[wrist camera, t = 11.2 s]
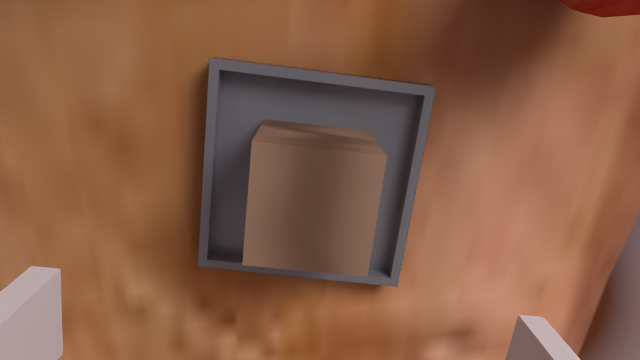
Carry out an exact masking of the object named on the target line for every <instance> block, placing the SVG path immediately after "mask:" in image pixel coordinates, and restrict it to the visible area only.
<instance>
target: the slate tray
mask: <svg viewBox="0 0 640 360" xmlns="http://www.w3.org/2000/svg"><path fill="white" fill-rule="evenodd" d="M435 91H436V87H434V86H431V85H428V84H420V83H412V82H404V81H397V80H389V79H381V78H373V77H365V76H358V75H350V74H342V73H334V72H327V71H319V70H311V69H303V68H295V67H288V66H280V65H272V64H264V63H256V62H249V61H241V60H233V59H225V58H218V57H213V58H210V60H209V77H208V95H207V112H206V130H205V148H204V165H203V183H202V200H201V218H200V235H199V253H198V267H205V268H215V269H225V270H235V271H245V272H255V273H265V274H275V275H285V276H295V277H305V278H315V279H325V280H335V281H345V282H355V283H365V284H375V285H385V286H395V287H397V286H398V280H399V275H400V270H401V265H402V260H403V255H404V250H405V245H406V239H407V234H408V229H409V224H410V219H411V214H412V209H413V203H414V198H415V193H416V188H417V183H418V178H419V173H420V168H421V162H422V157H423V152H424V147H425V142H426V137H427V132H428V126H429V121H430V116H431V111H432V106H433V101H434V96H435ZM264 119H267V120H276V121H285V122H294V123H303V124H312V125H321V126H330V127H339V128H348V129H357V130H366V131H370V132H371V134H372V135H373V136H374V138H375V139H376V141H377V142H378V144H379V145H380V146H381V148H382V149H383V151H384V152H385V153H386V155H387V160H386V166H385V173H384V179H383V185H382V191H381V197H380V203H379V210H378V216H377V222H376V228H375V234H374V240H373V246H372V253H371V259H370V265H369V271H368V277H366V276H355V275H344V274H333V273H322V272H311V271H301V270H290V269H279V268H268V267H257V266H246V265H242V262H243V249H244V236H245V223H246V210H247V197H248V184H249V171H250V157H251V144H252V140H253V138H254V136H255V134H256V133H257V131H258V129H259V127H260V125H261V124H262V122H263V120H264Z"/></svg>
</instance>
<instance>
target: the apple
mask: <svg viewBox="0 0 640 360" xmlns="http://www.w3.org/2000/svg"><path fill="white" fill-rule="evenodd" d="M560 1H561V2H562V3H564V4H565V5H567V6H568V7H570V8H571V9H573V10H576V11H579V12H582V13H586V14H591V15H595V16H599V17H613V16H626V15H640V0H560Z"/></svg>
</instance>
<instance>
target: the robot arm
mask: <svg viewBox="0 0 640 360" xmlns="http://www.w3.org/2000/svg"><path fill="white" fill-rule="evenodd" d="M62 354H63V344H62V308H61V273H60V269H56V268H46V267H36V266H31V267H30V268H29V269H27V270H26V271H25V272H24V273H23V274H21V275H20V276H19V277H18V278H16V279H15V280H14V281H13V282H12V283H10V284H9V285H8V286H7V287H6V288H4V289H3V290H2V291H1V292H0V360H58V359H59V358H60V357H61V355H62ZM506 360H580V359H579V357H578V356H577V355H576V354H575V353H574V352H573V351H572V349H571V348H570V347H569V346H568V345H567V344H566V343H565V341H564V340H563V339H562V338H561V337H560V336H559V335H558V333H557V332H556V331H555V330H554V329H553V328H552V327H551V325H550V324H549V323H548V322H547V321H546V320H545V319H544V317H536V316H526V315H518V319H517V322H516V325H515V329H514V332H513V336H512V339H511V343H510V346H509V349H508V353H507V356H506Z"/></svg>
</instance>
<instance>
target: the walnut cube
mask: <svg viewBox="0 0 640 360" xmlns="http://www.w3.org/2000/svg"><path fill="white" fill-rule="evenodd" d="M386 160H387V155H386V153H385V152H384V151H383V149H382V148H381V146H380V145H379V144H378V142H377V141H376V139H375V138H374V136H373V135H372V134H371V132H370V131H366V130H357V129H348V128H339V127H330V126H321V125H312V124H303V123H294V122H285V121H276V120H267V119H264V120H263V122H262V124H261V125H260V127H259V129H258V131H257V133H256V134H255V136H254V138H253V140H252V144H251V157H250V171H249V184H248V197H247V210H246V223H245V236H244V249H243V262H242V265H246V266H257V267H268V268H279V269H290V270H301V271H311V272H322V273H333V274H344V275H355V276H366V277H368V271H369V265H370V259H371V253H372V246H373V240H374V234H375V228H376V222H377V216H378V210H379V203H380V197H381V191H382V185H383V179H384V173H385V166H386Z"/></svg>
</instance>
